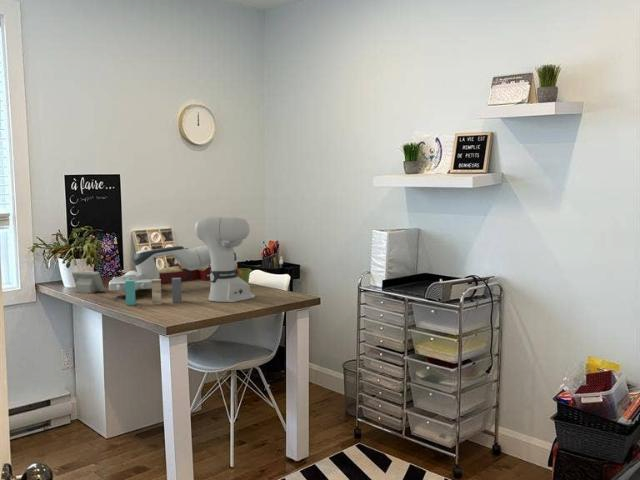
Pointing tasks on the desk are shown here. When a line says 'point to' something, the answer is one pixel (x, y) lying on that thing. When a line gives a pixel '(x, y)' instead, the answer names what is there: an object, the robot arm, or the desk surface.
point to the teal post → (130, 292)
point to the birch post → (156, 291)
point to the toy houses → (183, 273)
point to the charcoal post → (176, 290)
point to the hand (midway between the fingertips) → (130, 287)
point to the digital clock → (87, 281)
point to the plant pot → (244, 274)
